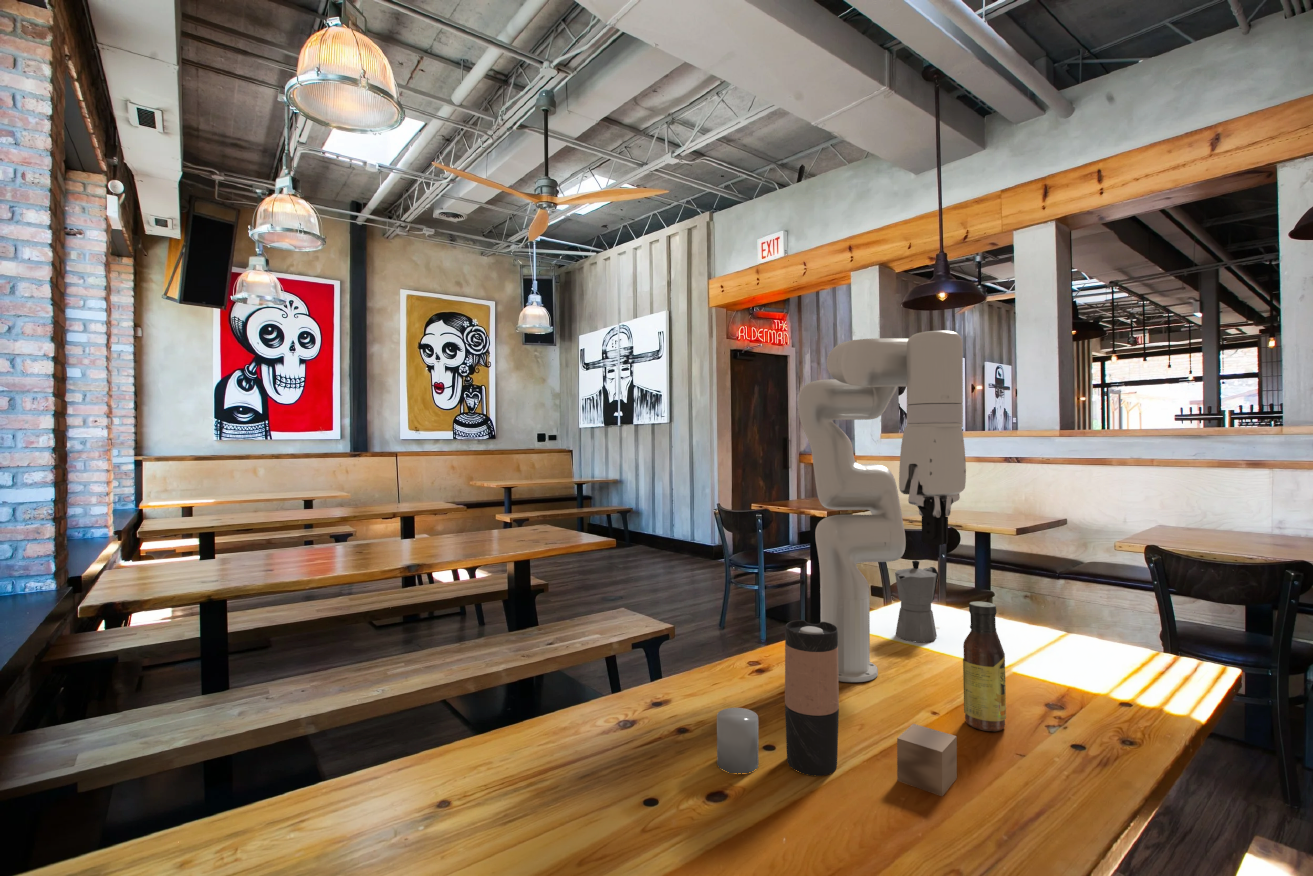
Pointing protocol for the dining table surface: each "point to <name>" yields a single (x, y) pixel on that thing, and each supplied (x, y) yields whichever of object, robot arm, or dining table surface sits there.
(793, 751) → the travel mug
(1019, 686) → the dining table surface
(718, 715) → the grey rounded cylinder
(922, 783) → the grey cube
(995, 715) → the sauce bottle
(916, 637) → the coffeepot
